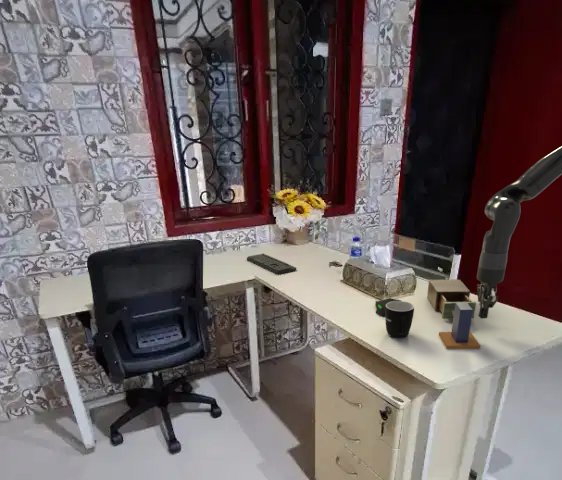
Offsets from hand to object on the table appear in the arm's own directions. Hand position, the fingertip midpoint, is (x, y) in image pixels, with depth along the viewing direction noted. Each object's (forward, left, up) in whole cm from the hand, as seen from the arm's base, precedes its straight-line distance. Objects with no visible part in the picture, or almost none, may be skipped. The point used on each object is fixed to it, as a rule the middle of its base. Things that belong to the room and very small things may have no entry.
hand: (482, 317), depth 134 cm
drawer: (+4, -14, -5) cm, 15 cm away
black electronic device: (+26, -20, -6) cm, 33 cm away
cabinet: (+4, -26, -6) cm, 27 cm away
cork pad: (+8, +6, -6) cm, 12 cm away
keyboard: (+80, -85, -6) cm, 117 cm away
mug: (+26, +2, -6) cm, 27 cm away
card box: (+8, +6, -4) cm, 11 cm away
